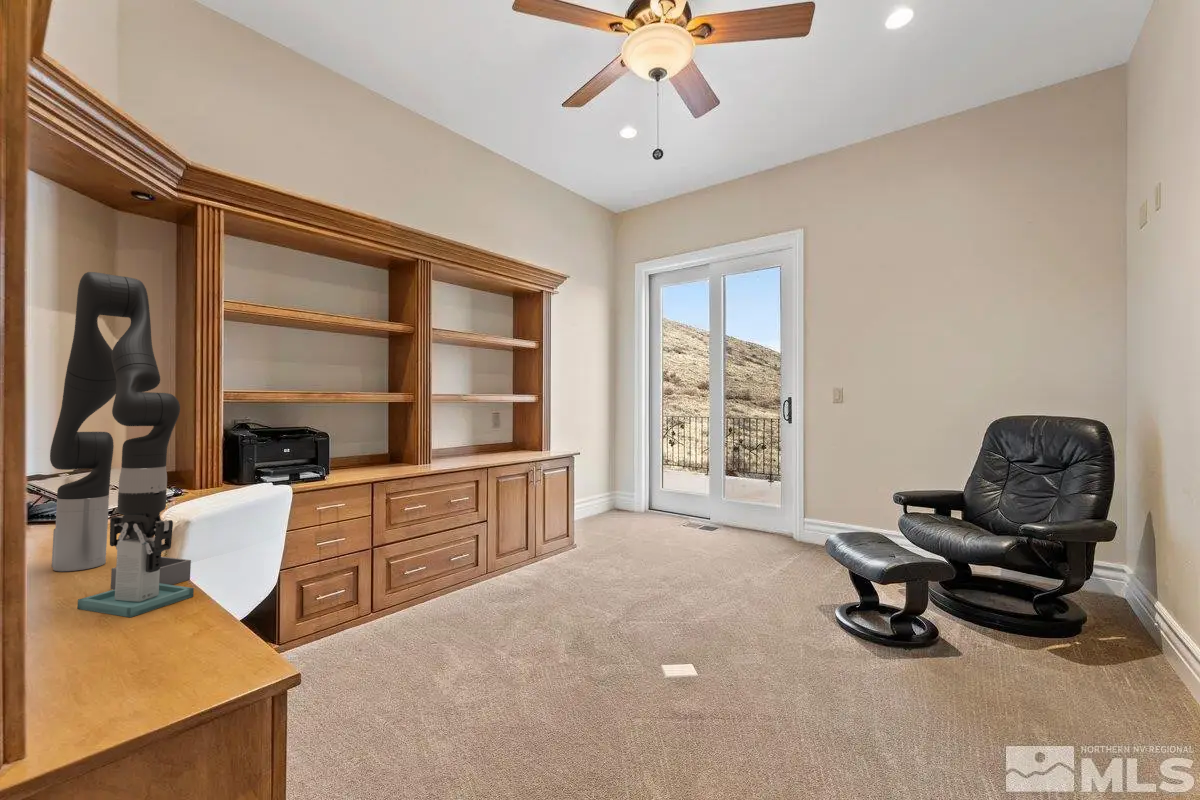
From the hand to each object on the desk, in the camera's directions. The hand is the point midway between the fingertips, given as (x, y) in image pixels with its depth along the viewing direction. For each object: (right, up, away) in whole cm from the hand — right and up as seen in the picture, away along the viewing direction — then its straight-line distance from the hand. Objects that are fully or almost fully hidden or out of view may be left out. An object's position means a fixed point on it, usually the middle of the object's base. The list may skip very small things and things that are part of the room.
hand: (138, 569), depth 107 cm
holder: (-7, -7, +11) cm, 14 cm away
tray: (0, -7, 0) cm, 7 cm away
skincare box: (0, -6, 0) cm, 6 cm away
